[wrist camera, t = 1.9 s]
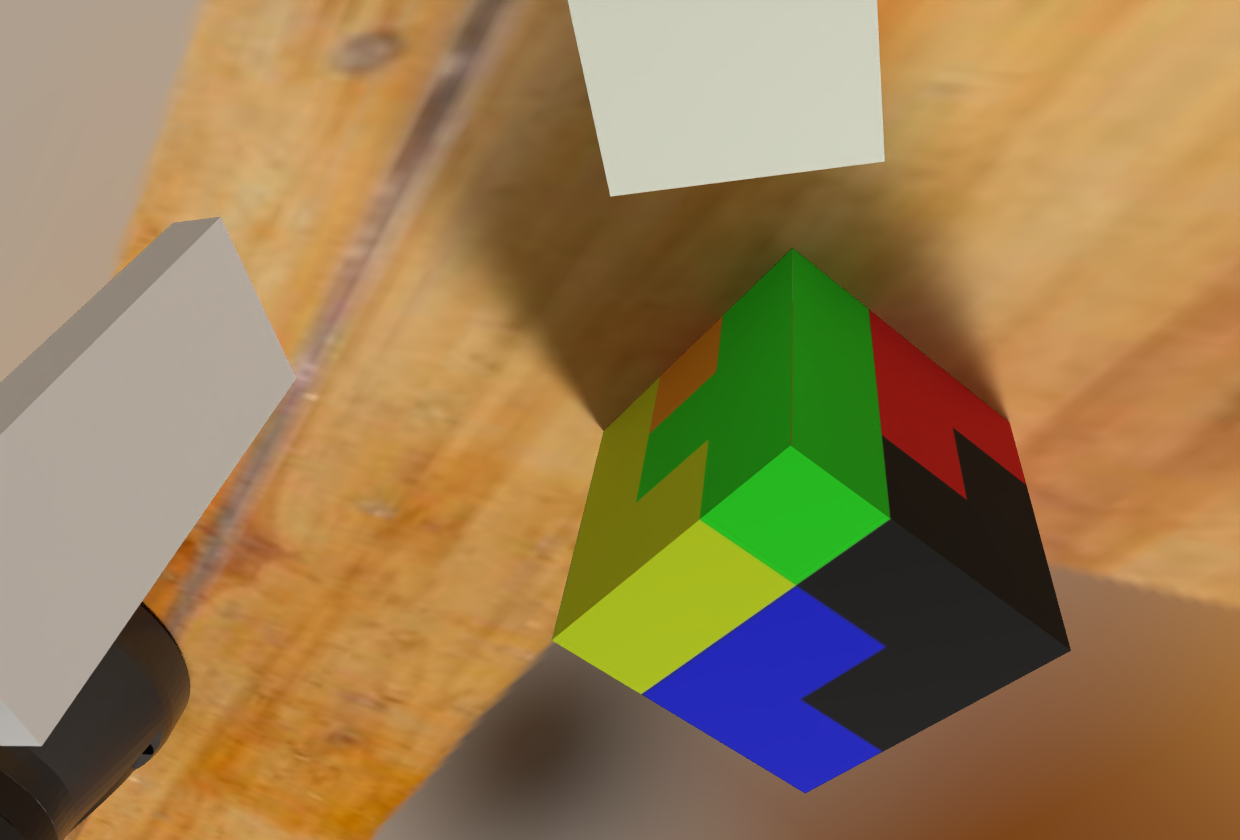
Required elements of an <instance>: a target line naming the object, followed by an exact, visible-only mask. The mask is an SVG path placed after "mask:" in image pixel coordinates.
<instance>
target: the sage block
mask: <svg viewBox="0 0 1240 840" xmlns="http://www.w3.org/2000/svg"><path fill="white" fill-rule="evenodd" d="M568 4H569V9H570V14H571V18H572V23H573V27H574V32H575V36H576V41H577V46H578V50H579V55H580V59H581V64H582V69H583V73H584V78H585V82H586V87H587V91H588V96H589V101H590V105H591V110H592V114H593V119H594V124H595V128H596V133H597V137H598V142H599V146H600V151H601V156H602V160H603V165H604V169H605V174H606V179H607V183H608V188H609V192H610V197H611V196H618V195H626V194H634V193H642V192H650V191H658V190H665V189H673V188H681V187H689V186H697V185H705V184H712V183H720V182H728V181H736V180H744V179H751V178H759V177H767V176H775V175H783V174H791V173H798V172H806V171H814V170H822V169H830V168H838V167H845V166H853V165H861V164H869V163H877V162H884V161H885V158H884V137H883V116H882V95H881V75H880V54H879V33H878V12H877V0H568Z"/></svg>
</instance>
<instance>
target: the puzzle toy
mask: <svg viewBox="0 0 1240 840" xmlns="http://www.w3.org/2000/svg"><path fill="white" fill-rule="evenodd" d="M552 641H554V642H556V643H557V644H559V645H561V646H562V647H564V648H566V649H567V650H569V651H570V652H572V653H574V654H575V655H577V656H579V657H581V658H582V659H584V660H585V661H587V662H589V663H590V664H592V665H594V666H595V667H597V668H599V669H600V670H602V671H604V672H605V673H607V674H609V675H610V676H612V677H614V678H615V679H617V680H618V681H620V682H622V683H624V684H625V685H627V686H628V687H630V688H632V689H633V690H635V691H637V692H638V693H640V694H642V695H643V696H645V697H647V698H648V699H650V700H652V701H653V702H655V703H657V704H658V705H660V706H661V707H663V708H665V709H666V710H668V711H670V712H671V713H673V714H675V715H676V716H678V717H680V718H681V719H683V720H685V721H687V722H688V723H690V724H691V725H693V726H695V727H696V728H698V729H700V730H701V731H703V732H704V733H706V734H708V735H709V736H711V737H713V738H715V739H716V740H718V741H719V742H721V743H723V744H724V745H726V746H728V747H730V748H731V749H733V750H734V751H736V752H738V753H739V754H741V755H743V756H744V757H746V758H748V759H749V760H751V761H752V762H754V763H756V764H757V765H759V766H761V767H762V768H764V769H766V770H767V771H769V772H771V773H772V774H774V775H776V776H777V777H779V778H781V779H782V780H784V781H786V782H787V783H789V784H791V785H792V786H794V787H795V788H797V789H799V790H800V791H802V792H804V793H807V792H809V791H811V790H812V789H814V788H816V787H818V786H820V785H822V784H824V783H825V782H827V781H829V780H831V779H833V778H835V777H837V776H838V775H840V774H842V773H844V772H846V771H848V770H850V769H851V768H853V767H855V766H857V765H859V764H861V763H863V762H865V761H866V760H868V759H870V758H872V757H874V756H876V755H877V754H879V753H881V752H883V751H885V750H887V749H889V748H891V747H892V746H894V745H896V744H898V743H900V742H901V741H904V740H905V739H907V738H909V737H911V736H913V735H915V734H917V733H918V732H920V731H922V730H924V729H926V728H927V727H929V726H932V725H933V724H935V723H937V722H939V721H941V720H942V719H945V718H946V717H948V716H950V715H952V714H954V713H956V712H957V711H959V710H961V709H963V708H965V707H967V706H969V705H970V704H972V703H974V702H976V701H978V700H980V699H981V698H984V697H985V696H987V695H989V694H991V693H993V692H995V691H997V690H998V689H1000V688H1002V687H1004V686H1006V685H1008V684H1010V683H1011V682H1013V681H1015V680H1017V679H1019V678H1021V677H1022V676H1025V675H1026V674H1028V673H1030V672H1032V671H1034V670H1036V669H1037V668H1039V667H1041V666H1043V665H1045V664H1047V663H1049V662H1050V661H1052V660H1054V659H1056V658H1058V657H1060V656H1062V655H1064V654H1065V653H1067V652H1069V651H1071V649H1070V646H1069V642H1068V638H1067V634H1066V631H1065V627H1064V623H1063V620H1062V616H1061V612H1060V608H1059V605H1058V601H1057V597H1056V594H1055V590H1054V586H1053V582H1052V579H1051V575H1050V571H1049V567H1048V564H1047V560H1046V556H1045V553H1044V549H1043V545H1042V541H1041V538H1040V534H1039V530H1038V527H1037V523H1036V519H1035V515H1034V512H1033V508H1032V504H1031V500H1030V497H1029V493H1028V489H1027V486H1026V482H1025V478H1024V474H1023V471H1022V467H1021V463H1020V460H1019V456H1018V452H1017V448H1016V445H1015V441H1014V437H1013V433H1012V430H1011V426H1010V423H1009V422H1008V421H1007V420H1005V419H1004V418H1003V417H1002V416H1000V415H999V414H998V413H997V412H996V411H994V410H993V409H992V408H991V407H989V406H988V405H987V404H986V403H984V402H983V401H982V400H981V399H979V398H978V397H977V396H976V395H974V394H973V393H972V392H971V391H969V390H968V389H967V388H966V387H964V386H963V385H962V384H961V383H960V382H958V381H957V380H956V379H955V378H953V377H952V376H951V375H950V374H948V373H947V372H946V371H945V370H943V369H942V368H941V367H940V366H938V365H937V364H936V363H935V362H933V361H932V360H931V359H930V358H928V357H927V356H926V355H925V354H924V353H922V352H921V351H920V350H919V349H917V348H916V347H915V346H914V345H912V344H911V343H910V342H909V341H907V340H906V339H905V338H904V337H902V336H901V335H900V334H899V333H897V332H896V331H895V330H894V329H892V328H891V327H890V326H889V325H888V324H886V323H885V322H884V321H883V320H881V319H880V318H879V317H878V316H876V315H875V314H874V313H873V312H871V311H870V310H869V309H868V308H866V307H865V306H864V305H863V304H861V303H860V302H859V301H858V300H856V299H855V298H854V297H853V296H852V295H850V294H849V293H848V292H847V291H845V290H844V289H843V288H842V287H840V286H839V285H838V284H837V283H835V282H834V281H833V280H832V279H830V278H829V277H828V276H827V275H825V274H824V273H823V272H822V271H820V270H819V269H818V268H817V267H816V266H814V265H813V264H812V263H811V262H809V261H808V260H807V259H806V258H804V257H803V256H802V255H801V254H799V253H798V252H797V251H796V250H794V249H793V248H792V249H791V250H790V251H789V252H788V253H787V254H786V255H785V256H784V257H783V258H782V259H781V260H780V261H779V262H778V263H777V264H776V265H775V266H774V267H773V268H772V269H771V270H770V271H769V272H767V273H766V274H765V275H764V276H763V277H762V278H761V279H760V280H759V281H758V282H757V283H756V284H755V285H754V286H753V287H752V288H751V289H750V290H749V291H748V292H747V293H746V294H745V295H744V296H743V297H742V298H741V299H740V300H739V301H738V302H737V303H735V304H734V305H733V306H732V307H731V308H730V309H729V310H728V311H727V312H726V313H725V314H724V315H723V316H722V317H721V318H720V319H719V320H718V321H717V322H716V323H715V324H714V325H713V326H712V327H711V328H710V329H709V330H708V331H707V332H706V333H705V334H703V335H702V336H701V337H700V338H699V339H698V340H697V341H696V342H695V343H694V344H693V345H692V346H691V347H690V348H689V349H688V350H687V351H686V352H685V353H684V354H683V355H682V356H681V357H680V358H679V359H678V360H677V361H676V362H675V363H674V364H673V365H671V366H670V367H669V368H668V369H667V370H666V371H665V372H664V373H663V374H662V375H661V376H660V377H659V378H658V379H657V380H656V381H655V382H654V383H653V384H652V385H651V386H650V387H649V388H648V389H647V390H646V391H645V392H644V393H643V394H642V395H641V396H639V397H638V398H637V399H636V400H635V401H634V402H633V403H632V404H631V405H630V406H629V407H628V408H627V409H626V410H625V411H624V412H623V413H622V414H621V415H620V416H619V417H618V418H617V419H616V420H615V421H614V422H613V423H612V424H611V425H610V426H609V427H607V428H606V429H605V430H604V432H603V436H602V440H601V444H600V448H599V452H598V456H597V460H596V464H595V468H594V472H593V476H592V480H591V484H590V488H589V492H588V496H587V500H586V504H585V508H584V513H583V517H582V521H581V525H580V529H579V533H578V537H577V541H576V545H575V549H574V553H573V557H572V561H571V565H570V569H569V573H568V577H567V581H566V585H565V589H564V593H563V597H562V601H561V605H560V609H559V613H558V617H557V621H556V625H555V629H554V633H553V637H552Z"/></svg>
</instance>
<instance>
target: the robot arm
mask: <svg viewBox="0 0 1240 840" xmlns="http://www.w3.org/2000/svg"><path fill="white" fill-rule="evenodd" d="M295 379H296V377H295V375H294V373H293V371H292V369H291V366H290V364H289V362H288V360H287V358H286V356H285V354H284V351H283V349H282V347H281V345H280V343H279V341H278V339H277V336H276V334H275V332H274V330H273V328H272V326H271V324H270V321H269V319H268V317H267V315H266V313H265V311H264V309H263V306H262V304H261V302H260V300H259V298H258V296H257V294H256V291H255V289H254V287H253V285H252V283H251V281H250V278H249V276H248V274H247V272H246V270H245V268H244V266H243V263H242V261H241V259H240V257H239V255H238V253H237V251H236V248H235V246H234V244H233V242H232V240H231V238H230V236H229V233H228V231H227V229H226V227H225V225H224V223H223V221H222V218H221V217H215V218H208V219H200V220H192V221H185V222H177V223H173V224H171V225H170V226H169V227H168V228H167V229H166V230H165V231H164V232H163V233H162V234H161V235H160V236H159V237H157V238H156V239H155V240H154V241H153V242H152V243H151V244H150V245H149V246H148V247H147V248H146V249H144V250H143V251H142V252H141V253H140V254H139V255H138V256H137V257H136V258H135V259H134V260H133V261H131V262H130V263H129V264H128V265H127V266H126V267H125V268H124V269H123V270H122V271H121V272H120V273H119V274H117V275H116V276H115V277H114V278H113V279H112V280H111V281H110V282H109V283H108V284H107V285H106V286H104V287H103V288H102V289H101V290H100V291H99V292H98V293H97V294H96V295H95V296H94V297H93V298H92V299H90V300H89V301H88V302H87V303H86V304H85V305H84V306H83V307H82V308H81V309H80V310H79V311H77V313H75V314H74V315H73V316H72V317H71V318H70V319H69V320H68V321H67V322H66V323H65V324H63V325H62V326H61V327H60V328H59V329H58V330H57V331H56V332H55V333H54V334H53V335H52V336H50V337H49V338H48V339H47V340H46V341H45V342H44V343H43V344H42V345H41V346H40V347H39V348H37V349H36V350H35V351H34V352H33V353H32V354H31V355H30V356H29V357H28V358H27V359H26V360H25V361H23V363H21V364H20V365H19V366H18V367H17V368H16V369H15V370H14V371H13V372H12V373H10V374H9V375H8V376H7V377H6V378H5V379H4V380H3V381H2V382H1V383H0V840H64V839H65V837H66V836H67V835H68V834H69V833H70V832H71V831H72V830H73V829H74V828H75V827H76V826H77V825H79V824H80V823H81V822H82V821H83V820H84V819H85V818H86V817H87V816H88V815H90V814H91V813H92V812H93V811H94V810H95V809H96V808H97V807H98V806H99V805H101V804H102V803H103V802H104V801H105V800H106V799H107V798H108V797H109V796H110V795H111V794H112V793H113V792H114V791H115V790H116V789H117V788H118V787H119V786H120V785H121V784H122V783H123V782H124V781H125V780H126V779H127V778H128V777H129V776H130V775H131V773H132V772H133V771H134V770H135V769H137V768H139V767H141V766H142V765H144V764H145V763H146V762H148V761H149V760H150V759H151V758H152V757H153V756H154V755H155V754H156V753H157V752H158V751H159V750H160V749H161V747H162V746H163V745H164V744H165V742H166V741H167V739H168V737H169V736H170V734H171V732H172V730H173V729H174V727H175V725H176V723H177V722H178V720H179V718H180V717H181V715H182V713H183V711H184V710H185V708H186V705H187V703H188V700H189V695H190V679H189V674H188V670H187V667H186V664H185V662H184V660H183V657H182V655H181V653H180V651H179V650H178V648H177V646H176V645H175V643H174V641H173V640H172V639H171V637H170V636H169V635H168V633H167V632H166V631H165V630H164V628H163V627H162V626H161V625H160V624H159V623H158V622H157V620H156V619H155V618H154V617H153V616H152V615H151V614H150V613H149V612H148V611H147V610H145V609H144V608H143V607H142V606H141V605H140V603H141V602H142V601H143V599H144V598H145V596H146V595H147V593H148V592H149V590H150V589H151V588H152V586H153V585H154V583H155V582H156V580H157V579H158V577H159V576H160V575H161V573H162V572H163V570H164V569H165V567H166V566H167V564H168V563H169V562H170V560H171V559H172V557H173V556H174V554H175V553H176V551H177V550H178V549H179V547H180V546H181V544H182V543H183V541H184V540H185V538H186V537H187V536H188V534H189V533H190V531H191V530H192V528H193V527H194V525H195V524H196V522H197V521H198V520H199V518H200V517H201V515H202V514H203V512H204V511H205V509H206V508H207V507H208V505H209V504H210V502H211V501H212V499H213V498H214V496H215V495H216V494H217V492H218V491H219V489H220V488H221V486H222V485H223V483H224V482H225V481H226V479H227V478H228V476H229V475H230V473H231V472H232V470H233V469H234V468H235V466H236V465H237V463H238V462H239V460H240V459H241V457H242V456H243V455H244V453H245V452H246V450H247V449H248V447H249V446H250V444H251V443H252V442H253V440H254V439H255V437H256V436H257V434H258V433H259V431H260V430H261V429H262V427H263V426H264V424H265V423H266V421H267V420H268V418H269V417H270V415H271V414H272V413H273V411H274V410H275V408H276V407H277V405H278V404H279V402H280V401H281V400H282V398H283V397H284V395H285V394H286V392H287V391H288V389H289V388H290V387H291V385H292V384H293V382H294V381H295Z"/></svg>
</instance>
